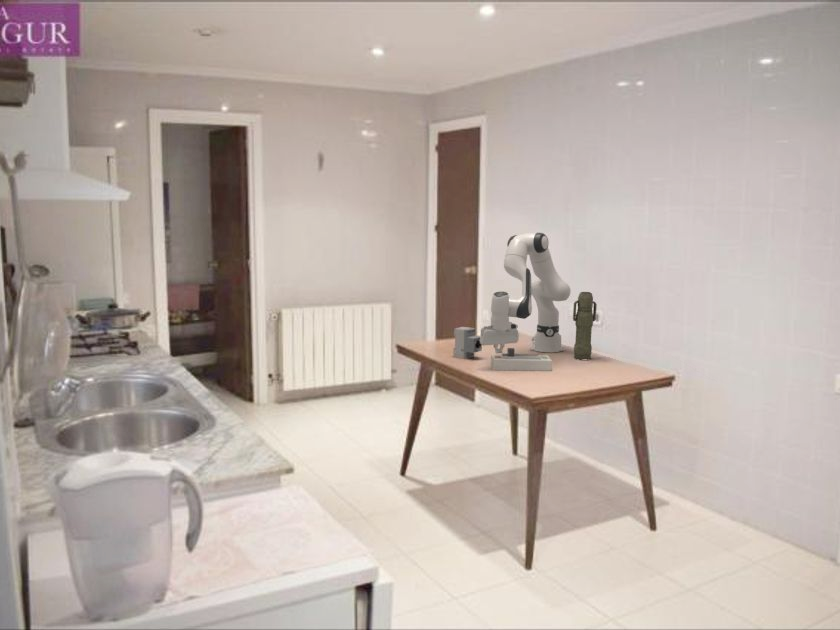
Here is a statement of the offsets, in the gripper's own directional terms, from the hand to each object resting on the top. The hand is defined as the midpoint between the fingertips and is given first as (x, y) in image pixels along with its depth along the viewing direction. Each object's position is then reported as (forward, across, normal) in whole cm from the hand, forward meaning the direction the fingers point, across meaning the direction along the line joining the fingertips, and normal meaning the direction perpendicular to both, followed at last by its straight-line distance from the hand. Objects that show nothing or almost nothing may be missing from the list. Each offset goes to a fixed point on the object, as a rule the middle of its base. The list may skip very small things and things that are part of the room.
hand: (498, 353), depth 354 cm
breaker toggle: (+2, +5, -3) cm, 6 cm away
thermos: (+7, +52, +2) cm, 53 cm away
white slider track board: (+7, +10, -5) cm, 13 cm away
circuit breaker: (+7, -3, +25) cm, 26 cm away
